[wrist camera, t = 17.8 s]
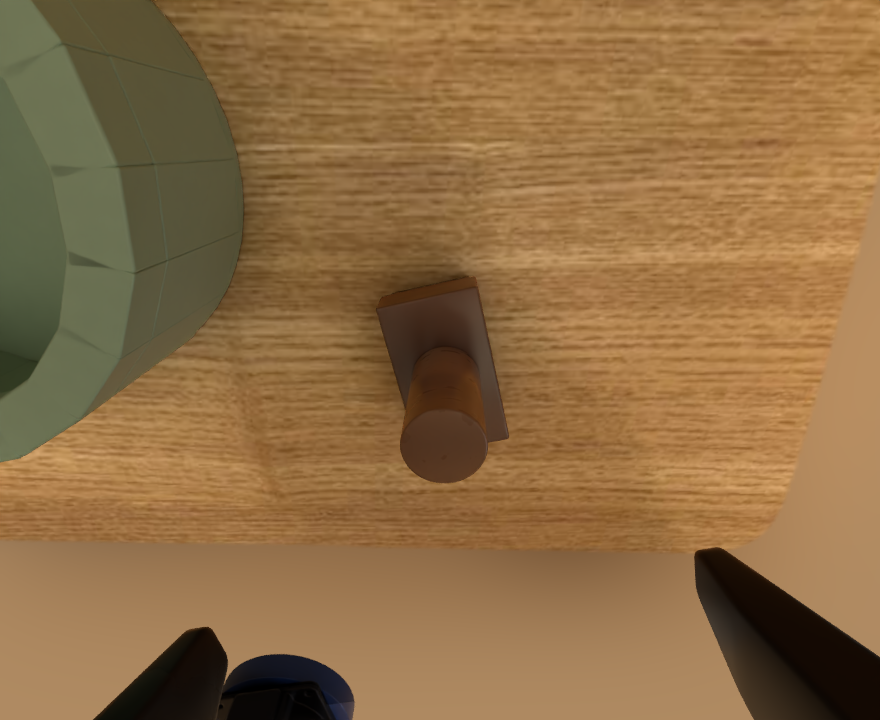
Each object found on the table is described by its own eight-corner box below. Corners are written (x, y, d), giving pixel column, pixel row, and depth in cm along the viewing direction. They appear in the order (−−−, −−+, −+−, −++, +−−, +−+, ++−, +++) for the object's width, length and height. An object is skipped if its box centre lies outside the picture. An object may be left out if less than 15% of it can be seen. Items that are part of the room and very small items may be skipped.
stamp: (503, 407, 21) (526, 522, 15) (422, 422, 21) (409, 541, 15) (474, 268, 19) (485, 333, 12) (384, 289, 19) (350, 361, 13)
